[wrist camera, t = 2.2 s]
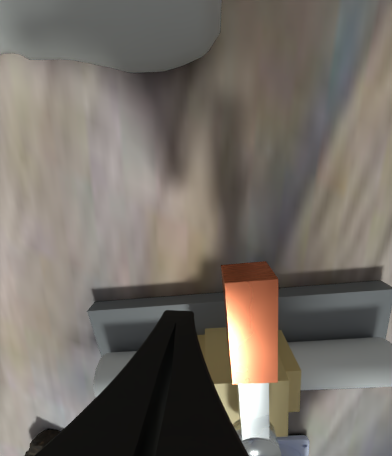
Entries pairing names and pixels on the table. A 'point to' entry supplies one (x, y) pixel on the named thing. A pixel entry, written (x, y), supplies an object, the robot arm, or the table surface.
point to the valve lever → (252, 350)
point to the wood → (41, 441)
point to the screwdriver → (111, 31)
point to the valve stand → (287, 340)
